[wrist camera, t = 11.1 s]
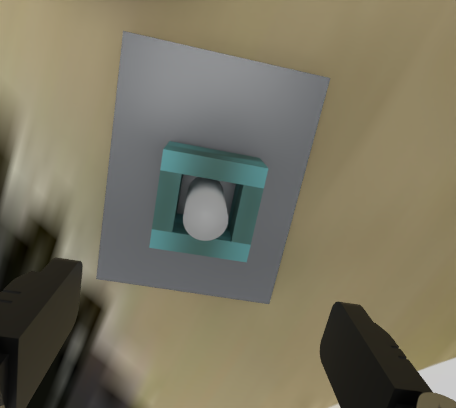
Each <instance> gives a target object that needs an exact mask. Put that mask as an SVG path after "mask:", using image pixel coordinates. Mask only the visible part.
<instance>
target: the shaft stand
mask: <svg viewBox="0 0 456 408" xmlns="http://www.w3.org/2000/svg"><path fill="white" fill-rule="evenodd" d="M329 81H330V78H327V77H323V76H319V75H314V74H310V73H306V72H301V71H297V70H292V69H288V68H284V67H279V66H275V65H270V64H266V63H262V62H257V61H253V60H249V59H244V58H240V57H235V56H231V55H227V54H222V53H218V52H213V51H209V50H205V49H200V48H196V47H192V46H187V45H183V44H178V43H174V42H170V41H165V40H161V39H156V38H152V37H148V36H143V35H139V34H134V33H130V32H126V31H123V38H122V48H121V57H120V66H119V75H118V84H117V94H116V103H115V112H114V121H113V131H112V140H111V149H110V158H109V167H108V177H107V186H106V195H105V204H104V213H103V223H102V232H101V241H100V250H99V259H98V269H97V278H96V279H100V280H107V281H114V282H121V283H128V284H135V285H142V286H149V287H155V288H162V289H169V290H176V291H183V292H190V293H197V294H203V295H210V296H217V297H224V298H231V299H238V300H245V301H251V302H258V303H265V304H269V303H270V299H271V295H272V292H273V288H274V284H275V281H276V277H277V273H278V269H279V266H280V262H281V258H282V255H283V251H284V247H285V244H286V240H287V236H288V233H289V229H290V225H291V221H292V218H293V214H294V210H295V207H296V203H297V199H298V196H299V192H300V188H301V184H302V181H303V177H304V173H305V170H306V166H307V162H308V159H309V155H310V151H311V148H312V144H313V140H314V136H315V133H316V129H317V125H318V122H319V118H320V114H321V111H322V107H323V103H324V100H325V96H326V92H327V88H328V85H329ZM169 141H172V142H177V143H182V144H188V145H193V146H198V147H204V148H209V149H214V150H220V151H225V152H231V153H236V154H241V155H247V156H252V157H257V158H260V159H261V160H262V161H263V163H264V164H265V165H266V166H267V167H268V173H267V177H266V181H265V186H264V190H263V194H262V199H261V203H260V207H259V211H258V216H257V220H256V224H255V229H254V233H253V237H252V242H251V246H250V250H249V255H248V259H247V262H240V261H234V260H227V259H221V258H214V257H207V256H201V255H194V254H188V253H181V252H174V251H168V250H161V249H155V248H149V245H150V238H151V231H152V224H153V217H154V210H155V203H156V196H157V189H158V182H159V176H160V169H161V162H162V155H163V149H164V148H165V146H166V145H167V144H168V142H169ZM235 186H236V183H230V182H224V181H219V180H213V179H207V178H202V177H196V176H191V175H185V174H183V178H182V184H181V190H180V196H179V202H178V209H177V214H183V224H184V227H185V229H186V231H187V232H188V234H189V235H191V236H192V237H193V238H195V239H198V240H202V241H209V240H213V239H216V238H218V237H219V236H220V235H222V234H223V232H224V231H225V230H226V228H227V225H228V219H229V214H230V210H231V205H232V200H233V195H234V190H235Z"/></svg>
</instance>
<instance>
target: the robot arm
mask: <svg viewBox="0 0 456 408" xmlns="http://www.w3.org/2000/svg"><path fill="white" fill-rule="evenodd" d="M81 279H82V262H81V261H75V260H69V259H62V258H54V259H52V261H51V262H50V263H49V264H48V265H47V266H46V267H45V268H44V269H43V270H42V271H41V272H35V271H31V272H28V273H26V274H24V275H22V276H20V277H18V278H15V279H14V280H13V281H12V282H11V283H10V284H9V285H8V286H7V287H6V288H5V289H3V292H0V408H26V406H27V405H28V403H29V401H30V399H31V398H32V396H33V394H34V393H35V391H36V389H37V387H38V386H39V384H40V382H41V381H42V379H43V377H44V375H45V374H46V372H47V370H48V369H49V367H50V365H51V364H52V362H53V360H54V358H55V357H56V355H57V353H58V352H59V350H60V348H61V346H62V345H63V343H64V341H65V340H66V338H67V336H68V335H69V333H70V331H71V329H72V328H73V325H74V323H75V320H76V317H77V314H78V309H79V300H80V289H81ZM320 358H321V362H322V364H323V367H324V369H325V372H326V374H327V376H328V379H329V381H330V383H331V386H332V388H333V391H334V393H335V395H336V398H337V400H338V402H339V405H340V407H341V408H456V402H455V401H454V400H452V399H450V398H448V397H446V396H443V395H440V394H437V393H433V392H432V390H431V389H430V388H429V386H428V385H427V384H426V382H425V381H424V380H423V379H422V377H421V376H420V375H419V373H418V372H417V370H416V369H415V368H414V366H413V365H412V364H411V362H410V361H409V360H407V359H406V356H405V354H404V353H403V352H402V351H401V349H399V348H398V345H397V344H396V343H395V341H394V340H393V339H392V337H391V336H390V335H389V334H388V333H387V332H386V331H385V330H383V329H382V328H381V327H380V326H379V325H377V324H376V323H374V322H373V321H372V320H371V318H370V317H369V316H368V314H367V313H366V311H365V310H364V309H363V307H362V306H361V305H357V304H350V303H344V302H336V303H335V304H334V305H333V307H332V310H331V313H330V316H329V319H328V322H327V325H326V328H325V331H324V334H323V337H322V340H321V344H320Z"/></svg>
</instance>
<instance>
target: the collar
mask: <svg viewBox="0 0 456 408" xmlns="http://www.w3.org/2000/svg"><path fill="white" fill-rule="evenodd" d="M267 173H268V167H267V166H266V165H265V164H264V163H263V161H262V160H261V159H260V158H257V157H252V156H247V155H241V154H236V153H231V152H225V151H220V150H214V149H209V148H204V147H198V146H193V145H188V144H182V143H177V142H172V141H169V142H168V144H167V145H166V146H165V148H164V149H163V155H162V162H161V169H160V176H159V182H158V189H157V196H156V203H155V210H154V217H153V224H152V231H151V238H150V245H149V248H155V249H161V250H168V251H174V252H181V253H188V254H194V255H201V256H207V257H214V258H221V259H227V260H234V261H240V262H247V259H248V255H249V250H250V246H251V242H252V237H253V233H254V229H255V224H256V220H257V216H258V211H259V207H260V203H261V199H262V194H263V190H264V186H265V181H266V177H267ZM183 174H185V175H191V176H196V177H202V178H207V179H213V180H219V181H224V182H230V183H236V186H235V190H234V195H233V200H232V205H231V210H230V214H229V219H228V225H227V228H226V230H225V231H224V232H223V234H222V235H220V236H219V237H218V238H216V239H213V240H209V241H202V240H198V239H195V238H193V237H192V236H191V235H189V234H188V232H187V231H186V229H185V227H184V224H183V214H177V209H178V202H179V196H180V190H181V184H182V178H183Z"/></svg>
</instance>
